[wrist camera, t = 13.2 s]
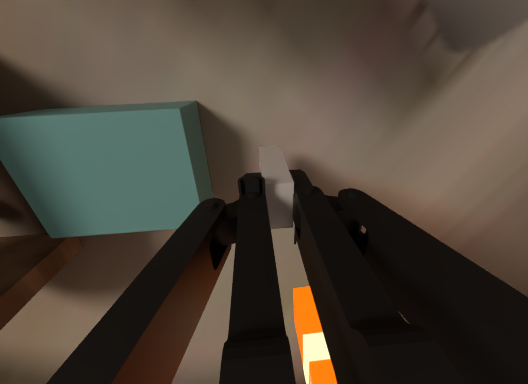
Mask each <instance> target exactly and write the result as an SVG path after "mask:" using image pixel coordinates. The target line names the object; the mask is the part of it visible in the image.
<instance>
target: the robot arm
mask: <svg viewBox="0 0 528 384" xmlns="http://www.w3.org/2000/svg"><path fill="white" fill-rule="evenodd" d="M259 161H260V173H246V174H245V175H244V176H243V177H241V178H239V180H238V187H239V200H237V201H235V202H233V203H230V204H226V205H225V202H224V201H223V200H222V199H217V198H210V199H206V200H204V201H202V202H201V203H199V204H198V205H197V207H196V208H195V209H194V210H193V211H192V212H191V214H190V215H189V216H188V217H187V218H186V219H185V221H184V222H183V223H182V224H181V225H180V227H179V228H178V229H177V230H176V231H175V232H174V234H173V235H172V236H171V237H170V238H169V240H168V241H167V242H166V243H165V244H164V245H163V247H162V248H161V249H160V250H159V251H158V252H157V254H156V255H155V256H154V257H153V258H152V260H151V261H150V262H149V263H148V264H147V265H146V267H145V268H144V269H143V270H142V271H141V273H140V274H139V275H138V276H137V277H136V278H135V280H134V281H133V282H132V283H131V284H130V285H129V287H128V288H127V289H126V290H125V291H124V293H123V294H122V295H121V296H120V297H119V298H118V300H117V301H116V302H115V303H114V304H113V305H112V307H111V308H110V309H109V310H108V311H107V313H106V314H105V315H104V316H103V317H102V318H101V320H100V321H99V322H98V323H97V324H96V326H95V327H94V328H93V329H92V330H91V331H90V333H89V334H88V335H87V336H86V337H85V338H84V340H83V341H82V342H81V343H80V344H79V346H78V347H77V348H76V349H75V350H74V351H73V353H72V354H71V355H70V356H69V357H68V359H67V360H66V361H65V362H64V363H63V364H62V366H61V367H60V368H59V369H58V370H57V371H56V373H55V374H54V375H53V376H52V377H51V379H50V380H49V381H48V382H47V383H46V384H171V383H172V381H173V378H174V376H175V374H176V372H177V369H178V367H179V365H180V363H181V360H182V358H183V356H184V354H185V351H186V349H187V347H188V345H189V342H190V340H191V338H192V336H193V333H194V331H195V329H196V327H197V324H198V322H199V320H200V318H201V315H202V313H203V311H204V309H205V306H206V304H207V302H208V300H209V297H210V295H211V293H212V291H213V288H214V286H215V284H216V281H217V279H218V277H219V275H220V272H221V270H222V268H223V266H224V263H225V261H226V259H227V257H228V254H229V252H230V250H231V246H232V245H231V244H234V243H236V246H235V258H234V271H233V283H232V296H231V308H230V321H229V333H228V339H227V341H226V342H225V343H224V347H223V353H222V360H221V370H220V381H219V384H296V382H295V376H294V369H293V363H292V356H291V350H290V344H289V340H288V337H287V335H286V331H285V325H284V318H283V311H282V304H281V297H280V290H279V284H278V277H277V270H276V263H275V256H274V249H273V242H272V235H271V229H276V228H290V227H293V221H294V224H295V233H294V244H296V241H297V243H298V247H299V250H300V254H301V257H302V261H303V264H304V268H305V271H306V275H307V278H308V282H309V285H310V289H311V292H312V296H313V299H314V303H315V306H316V310H317V313H318V317H319V320H320V324H321V327H322V331H323V334H324V338H325V341H326V345H327V348H328V352H329V355H330V359H331V362H332V366H333V369H334V373H335V377H336V381H337V384H528V297H527V296H525V295H523V294H522V293H520V292H519V291H517V290H516V289H514V288H513V287H511V286H509V285H508V284H506V283H505V282H503V281H502V280H500V279H499V278H497V277H495V276H494V275H492V274H491V273H489V272H488V271H486V270H484V269H483V268H481V267H480V266H478V265H477V264H475V263H474V262H472V261H470V260H469V259H467V258H466V257H464V256H463V255H461V254H459V253H458V252H456V251H455V250H453V249H452V248H450V247H449V246H447V245H445V244H444V243H442V242H441V241H439V240H438V239H436V238H435V237H433V236H431V235H430V234H428V233H427V232H425V231H424V230H422V229H420V228H419V227H417V226H416V225H414V224H413V223H411V222H410V221H408V220H406V219H405V218H403V217H402V216H400V215H399V214H397V213H396V212H394V211H392V210H391V209H389V208H388V207H386V206H385V205H383V204H381V203H380V202H378V201H377V200H375V199H374V198H372V197H371V196H369V195H367V194H366V193H364V192H362V191H360V190H356V189H353V188H348V189H343V190H340V191H339V193H338V197H334V196H326V195H324V193H323V192H322V190H321V189H320V188H318V187H316V186H313V185H312V184H311V182H310V180H309V179H308V177H307V175H306V173H305V172H304V171H302V170H300V169H298V170H288V167H287V165H286V162H285V160H284V158H283V155H282V153H281V151H280V148H279V146H263V147H259ZM362 225H363V226H364V227H365V228H366V233H365V234H364V233H363V232H362V231H361V226H362ZM398 311H399V312H400V313H401V314H402V315H403V317H404V318H405V319H406V320H407V321H408V322H409V323H410V324H408V323H407V322H406V321H405V320H404V319H403V318H402V316H401V315H400V313H399V312H398Z"/></svg>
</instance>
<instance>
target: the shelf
mask: <svg viewBox="0 0 528 384" xmlns="http://www.w3.org/2000/svg"><path fill="white" fill-rule="evenodd" d="M82 247H83V246H82V244H81V243H80V241H79V239H78V237H77V236H76V237H63V238H51V237H50V236H49V234H40V235H27V236H13V237H0V330H1V329H2V328H3V327H4V326H5V325H6V324H7V323H8V322H9V321H10V320H11V319H12V318H13V317H14V316H15V315H16V314H17V313H18V312H19V311H20V310H21V309H22V308H23V307H24V306H25V305H26V304H27V303H28V302H29V301H30V299H31V298H32V297H33V296H34V295H35V294H36V293H37V292H38V291H39V290H40V289H41V288H42V287H43V286H44V285H45V284H46V283H47V282H48V281H49V280H50V279H51V278H52V277H53V276H54V275H55V274H56V273H57V272H58V271H59V270H60V269H61V268H62V267H63V266H64V265H65V264H66V263H67V262H68V261H69V260H70V259H71V258H72V257H73V256H74V255H75V254H76V253H77V252H78V251H79V250H80V249H81V248H82Z"/></svg>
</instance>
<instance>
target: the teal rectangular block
mask: <svg viewBox="0 0 528 384" xmlns="http://www.w3.org/2000/svg"><path fill="white" fill-rule="evenodd" d="M0 161H1V162H2V164H3V165H4V167H5V168H6V170H7V171H8V173H9V174H10V176H11V177H12V179H13V181H14V182H15V184H16V185H17V187H18V188H19V190H20V191H21V193H22V194H23V196H24V197H25V199H26V200H27V202H28V204H29V205H30V207H31V208H32V210H33V211H34V213H35V214H36V216H37V217H38V219H39V220H40V222H41V224H42V225H43V227H44V228H45V230H46V231H47V233H48V234H49V236H50V237H51V238H63V237H76V236H89V235H102V234H115V233H128V232H141V231H154V230H167V229H178V228H179V227H180V225H181V224H182V223H183V222H184V221H185V219H186V218H187V217H188V216H189V215H190V214H191V212H192V211H193V210H194V209H195V208H196V207H197V205H198V204H199V203H201V202H202V201H204V200H206V199H210V198H213V192H212V186H211V181H210V175H209V170H208V164H207V158H206V153H205V147H204V141H203V136H202V130H201V124H200V119H199V113H198V108H197V102H196V101H185V102H166V103H147V104H129V105H110V106H91V107H73V108H54V109H41V110H34V111H28V112H21V113H14V114H8V115H1V116H0Z"/></svg>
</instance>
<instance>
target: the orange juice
mask: <svg viewBox="0 0 528 384" xmlns="http://www.w3.org/2000/svg"><path fill="white" fill-rule="evenodd" d="M293 296H294V320H295V326H296V331H297V336H298V341H299V347H300V352H301V357H302V362H303V369H304V374H305V379H306V384H337V381H336V377H335V373H334V369H333V366H332V362H331V359H330V355H329V352H328V348H327V345H326V341H325V338H324V334H323V331H322V327H321V324H320V320H319V317H318V313H317V310H316V306H315V303H314V299H313V296H312V292H311V289H310V287H301V288H293Z"/></svg>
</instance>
